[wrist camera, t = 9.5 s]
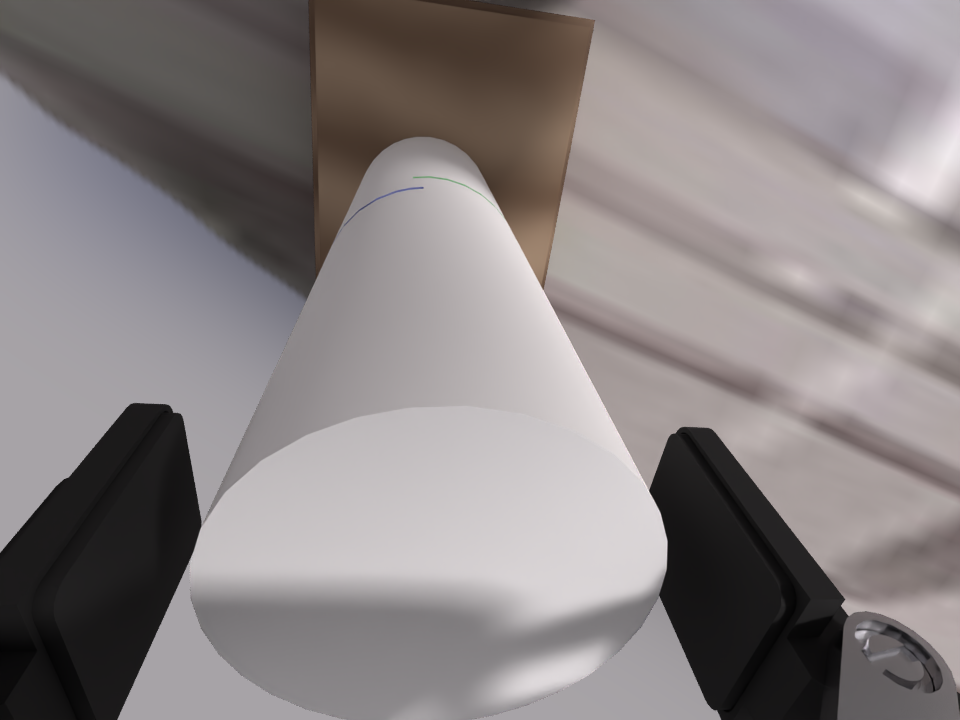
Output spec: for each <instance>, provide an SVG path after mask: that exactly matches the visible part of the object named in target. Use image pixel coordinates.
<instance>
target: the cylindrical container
mask: <svg viewBox="0 0 960 720" xmlns="http://www.w3.org/2000/svg"><path fill="white" fill-rule="evenodd" d="M667 542H668V541H667V537H666V533H665V529H664V525H663V521H662V517H661V513H660V511H659V509H658V507H657V505H656V503H655V501H654V500H653V498H652V496H651V494H650V492H649V490H648V488H647V486H646V484H645V483H644V481H643V479H642V477H641V475H640V473H639V471H638V469H637V467H636V465H635V464H634V462H633V460H632V458H631V456H630V454H629V452H628V450H627V448H626V446H625V445H624V443H623V441H622V439H621V437H620V435H619V433H618V431H617V429H616V428H615V426H614V424H613V422H612V420H611V418H610V416H609V414H608V412H607V410H606V409H605V407H604V405H603V403H602V401H601V399H600V397H599V395H598V393H597V391H596V390H595V388H594V386H593V384H592V382H591V380H590V378H589V376H588V374H587V372H586V371H585V369H584V367H583V365H582V363H581V361H580V359H579V357H578V355H577V354H576V352H575V350H574V348H573V346H572V344H571V342H570V340H569V338H568V336H567V335H566V333H565V331H564V329H563V327H562V325H561V323H560V321H559V319H558V317H557V316H556V314H555V312H554V310H553V308H552V306H551V304H550V302H549V300H548V299H547V297H546V295H545V293H544V291H543V289H542V287H541V285H540V283H539V281H538V280H537V278H536V276H535V274H534V272H533V270H532V268H531V266H530V264H529V262H528V261H527V259H526V257H525V255H524V253H523V251H522V249H521V247H520V245H519V244H518V242H517V240H516V238H515V236H514V234H513V232H512V231H511V229H510V227H509V225H508V223H507V221H506V219H505V218H504V216H503V214H502V212H501V210H500V208H499V206H498V204H497V202H496V200H495V199H494V197H493V195H492V193H491V191H490V189H489V187H488V185H487V183H486V181H485V179H484V178H483V176H482V174H481V172H480V170H479V169H478V167H477V165H476V164H475V163H474V162H473V160H472V159H471V158H470V157H469V156H468V155H467V154H466V153H465V152H463V151H462V150H461V149H459V148H458V147H457V146H455V145H453V144H451V143H449V142H447V141H445V140H441V139H437V138H432V137H413V138H407V139H404V140H401V141H399V142H396V143H393V144H392V145H390V146H389V147H387V148H386V149H384V150H383V151H382V152H381V153H380V154H379V155H378V156H377V157H376V158H375V159H374V160H373V161H372V163H371V165H370V166H369V168H368V169H367V171H366V173H365V175H364V177H363V179H362V182H361V184H360V186H359V188H358V190H357V192H356V195H355V197H354V199H353V201H352V203H351V205H350V208H349V210H348V212H347V214H346V216H345V218H344V220H343V223H342V225H341V227H340V229H339V231H338V233H337V235H336V238H335V240H334V242H333V244H332V246H331V248H330V251H329V253H328V255H327V257H326V259H325V261H324V264H323V266H322V268H321V270H320V272H319V274H318V277H317V279H316V281H315V283H314V285H313V287H312V290H311V292H310V294H309V296H308V298H307V300H306V303H305V305H304V307H303V309H302V311H301V314H300V316H299V318H298V320H297V322H296V324H295V326H294V329H293V331H292V333H291V335H290V337H289V339H288V342H287V344H286V346H285V348H284V350H283V352H282V355H281V357H280V359H279V361H278V363H277V365H276V367H275V370H274V372H273V374H272V376H271V378H270V380H269V382H268V385H267V387H266V389H265V391H264V393H263V395H262V398H261V400H260V402H259V404H258V406H257V408H256V410H255V413H254V415H253V417H252V419H251V421H250V424H249V425H248V428H247V430H246V432H245V434H244V436H243V438H242V441H241V443H240V445H239V447H238V449H237V451H236V454H235V456H234V458H233V460H232V462H231V464H230V467H229V469H228V471H227V473H226V475H225V477H224V479H223V481H222V484H221V486H220V488H219V490H218V492H217V495H216V496H215V499H214V501H213V503H212V505H211V508H210V509H209V512H208V514H207V516H206V518H205V520H204V522H203V525H202V527H201V529H200V532H199V536H198V539H197V542H196V546H195V549H194V552H193V555H192V559H191V562H190V591H191V601H192V604H193V607H194V610H195V612H196V615H197V618H198V621H199V624H200V626H201V629H202V631H203V632H204V633H205V635H206V636H207V638H208V639H209V641H210V642H211V644H212V645H213V646H214V648H215V649H216V651H217V652H218V654H219V655H220V656H221V657H222V658H223V659H224V660H226V661H227V662H228V663H229V664H230V665H231V666H232V667H233V668H234V669H235V670H236V671H237V672H238V673H239V674H240V675H241V676H243V677H245V678H246V679H248V680H249V681H251V682H252V683H254V684H256V685H257V686H259V687H260V688H262V689H263V690H265V691H267V692H268V693H270V694H271V695H274V696H276V697H278V698H281V699H283V700H286V701H288V702H290V703H293V704H295V705H297V706H299V707H302V708H304V709H307V710H311V711H315V712H318V713H322V714H326V715H329V716H333V717H337V718H341V719H346V720H471V719H477V718H481V717H487V716H492V715H496V714H499V713H503V712H506V711H509V710H513V709H516V708H519V707H523V706H526V705H529V704H531V703H533V702H536V701H538V700H541V699H543V698H545V697H548V696H550V695H553V694H555V693H558V692H560V691H561V690H563V689H565V688H567V687H568V686H570V685H572V684H573V683H575V682H577V681H579V680H581V679H582V678H584V677H586V676H588V675H589V674H591V673H592V672H594V671H595V670H596V669H597V668H599V667H600V666H601V665H602V664H604V663H605V662H606V661H607V660H609V659H610V658H611V657H613V656H614V655H615V654H616V653H618V652H619V651H620V650H621V649H622V648H623V647H624V645H625V644H626V643H627V642H628V641H629V640H630V639H631V638H632V636H633V635H634V634H635V633H636V632H637V631H638V630H639V629H640V628H641V626H642V625H643V623H644V622H645V620H646V618H647V616H648V615H649V613H650V611H651V610H652V608H653V606H654V604H655V603H656V601H657V599H658V597H659V593H660V590H661V587H662V583H663V580H664V577H665V574H666V570H667Z"/></svg>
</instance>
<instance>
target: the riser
mask: <svg viewBox="0 0 960 720" xmlns="http://www.w3.org/2000/svg"><path fill="white" fill-rule="evenodd" d="M594 22H595V20H591V19H584V18H578V17H572V16H565V15H559V14H553V13H546V12H540V11H534V10H527V9H521V8H515V7H508V6H502V5H496V4H489V3H483V2H477V1H470V0H309V37H310V75H311V113H312V150H313V188H314V226H315V264H316V279H317V277H318V274H319V272H320V270H321V268H322V266H323V264H324V261H325V259H326V257H327V255H328V253H329V251H330V248H331V246H332V244H333V242H334V240H335V238H336V235H337V233H338V231H339V229H340V227H341V225H342V223H343V220H344V218H345V216H346V214H347V212H348V210H349V208H350V205H351V203H352V201H353V199H354V197H355V195H356V192H357V190H358V188H359V186H360V184H361V182H362V179H363V177H364V175H365V173H366V171H367V169H368V168H369V166H370V165H371V163H372V161H373V160H374V159H375V158H376V157H377V156H378V155H379V154H380V153H381V152H382V151H383V150H384V149H386V148H387V147H389V146H390V145H392V144H393V143H396V142H399V141H401V140H404V139H407V138H413V137H432V138H437V139H441V140H445V141H447V142H449V143H451V144H453V145H455V146H457V147H458V148H459V149H461V150H462V151H463V152H465V153H466V154H467V155H468V156H469V157H470V158H471V159H472V160H473V162H474V163H475V164H476V165H477V167H478V169H479V170H480V172H481V174H482V176H483V178H484V179H485V181H486V183H487V185H488V187H489V189H490V191H491V193H492V195H493V197H494V199H495V200H496V202H497V204H498V206H499V208H500V210H501V212H502V214H503V216H504V218H505V219H506V221H507V223H508V225H509V227H510V229H511V231H512V232H513V234H514V236H515V238H516V240H517V242H518V244H519V245H520V247H521V249H522V251H523V253H524V255H525V257H526V259H527V261H528V262H529V264H530V266H531V268H532V270H533V272H534V274H535V276H536V278H537V280H538V281H539V283H540V285H541V287H542V289H543V290H544V284H545V279H546V274H547V269H548V263H549V258H550V253H551V248H552V243H553V237H554V232H555V227H556V222H557V216H558V211H559V206H560V201H561V195H562V190H563V185H564V180H565V174H566V169H567V164H568V159H569V153H570V148H571V143H572V138H573V132H574V127H575V122H576V117H577V112H578V106H579V101H580V96H581V91H582V85H583V80H584V75H585V70H586V64H587V59H588V54H589V49H590V43H591V38H592V33H593V28H594Z"/></svg>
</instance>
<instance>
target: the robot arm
mask: <svg viewBox="0 0 960 720" xmlns="http://www.w3.org/2000/svg"><path fill="white" fill-rule="evenodd" d="M649 492H650V494H651V496H652V498H653V500H654V501H655V503H656V505H657V507H658V509H659V511H660V513H661V517H662V521H663V525H664V529H665V533H666V537H667V541H668V542H667V570H666V574H665V577H664V580H663V583H662V587H661V590H660V593H659V596H660V598H661V600H662V603H663V605H664V607H665V610H666V612H667V614H668V616H669V619H670V621H671V623H672V625H673V628H674V630H675V632H676V634H677V637H678V639H679V641H680V643H681V645H682V648H683V650H684V652H685V655H686V657H687V659H688V662H689V664H690V666H691V668H692V670H693V673H694V675H695V677H696V680H697V682H698V684H699V686H700V688H701V691H702V693H703V695H704V698H705V700H706V701H707V704H708V705H709V706H710V707H711V708H712V709H713V710H717V711H718V713H719V715H720V718H721V720H960V694H959V693H958V692H957V690H956V684H955V681H954V678H953V675H952V672H951V670H950V669H949V667H948V666H947V664H946V663H945V661H944V659H943V658H942V657H941V655H940V654H939V653H938V652H937V651H936V650H935V649H934V648H933V647H932V646H931V645H930V644H929V643H928V642H927V641H926V640H924V639H923V638H922V637H921V636H919V635H918V634H917V633H916V632H914V631H913V630H911V629H910V628H908V627H906V626H905V625H903V624H901V623H900V622H898V621H896V620H894V619H891V618H889V617H886V616H884V615H881V614H877V613H872V612H867V611H865V612H856V613H853V614H852V615H850V616H848V615H847V614H846V612H845V611H844V610H843V608H842V607H841V605H842V603H843V602H844V600H845V599H844V597H843V596H842V595H841V593H840V592H839V591H838V590H837V588H836V587H835V586H834V584H833V583H832V582H831V581H830V579H829V578H828V577H827V575H826V574H825V573H824V572H823V570H822V569H821V568H820V566H819V565H818V564H817V563H816V561H815V560H814V559H813V557H812V556H811V555H810V554H809V552H808V551H807V550H806V548H805V547H804V546H803V545H802V543H801V542H800V541H799V540H798V538H797V537H796V536H795V534H794V533H793V532H792V531H791V529H790V528H789V527H788V525H787V524H786V523H785V522H784V520H783V519H782V518H781V516H780V515H779V514H778V513H777V511H776V510H775V509H774V507H773V506H772V505H771V504H770V502H769V501H768V500H767V498H766V497H765V496H764V495H763V493H762V492H761V491H760V490H759V488H758V487H757V486H756V484H755V483H754V482H753V481H752V479H751V478H750V477H749V475H748V474H747V473H746V472H745V470H744V469H743V468H742V466H741V465H740V464H739V463H738V461H737V460H736V459H735V457H734V456H733V455H732V454H731V452H730V451H729V450H728V448H727V447H726V446H725V445H724V443H723V442H722V441H721V439H720V438H719V437H718V436H717V434H716V433H715V432H714V431H713V430H712V429H710V428H698V427H682V428H680V429H679V430H678V431H677V432H676V434H671V435H670V436H669V438H668V441H667V443H666V446H665V449H664V452H663V454H662V457H661V460H660V462H659V465H658V468H657V471H656V473H655V476H654V479H653V482H652V484H651V487H650V490H649ZM200 529H201V516H200V510H199V505H198V499H197V494H196V488H195V482H194V477H193V471H192V465H191V460H190V454H189V449H188V444H187V438H186V432H185V426H184V421H183V418H182V415H181V414H179V413H173V411H172V409H171V407H170V406H169V405H166V404H144V403H133V404H130V405H129V406H128V407H127V408H126V409H125V411H124V412H123V413H122V414H121V415H120V416H119V418H118V419H117V420H116V421H115V423H114V424H113V425H112V426H111V427H110V428H109V430H108V431H107V432H106V433H105V434H104V436H103V437H102V438H101V439H100V441H99V442H98V443H97V444H96V445H95V447H94V448H93V449H92V450H91V451H90V453H89V454H88V455H87V456H86V457H85V459H84V460H83V461H82V462H81V463H80V465H79V466H78V467H77V469H76V470H75V471H74V472H73V473H72V474H71V476H70V477H69V478H66V479H64V480H63V481H62V482H60V483H59V484H58V485H57V486H56V487H55V488H54V490H53V491H52V492H51V493H50V494H49V496H48V497H47V498H46V499H45V500H44V502H43V503H42V504H41V505H40V506H39V508H38V509H37V510H36V511H35V512H34V513H33V515H32V516H31V517H30V518H29V519H28V521H27V522H26V523H25V524H24V525H23V526H22V528H21V529H20V530H19V531H18V532H17V534H16V535H15V536H14V537H13V538H12V539H11V541H10V542H9V543H8V544H7V545H6V547H5V548H4V549H3V550H2V551H1V553H0V720H117V719H118V717H119V714H120V712H121V710H122V707H123V706H124V703H125V701H126V699H127V697H128V695H129V692H130V690H131V688H132V686H133V684H134V681H135V679H136V677H137V675H138V673H139V670H140V668H141V666H142V664H143V662H144V659H145V657H146V655H147V653H148V651H149V648H150V646H151V644H152V642H153V639H154V637H155V635H156V633H157V631H158V629H159V626H160V624H161V622H162V620H163V618H164V615H165V613H166V611H167V609H168V607H169V604H170V602H171V600H172V598H173V595H174V593H175V591H176V589H177V587H178V585H179V582H180V580H181V578H182V576H183V573H184V571H185V569H186V567H187V565H188V563H189V560H190V558H191V556H192V554H193V552H194V549H195V546H196V542H197V539H198V536H199V532H200Z"/></svg>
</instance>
